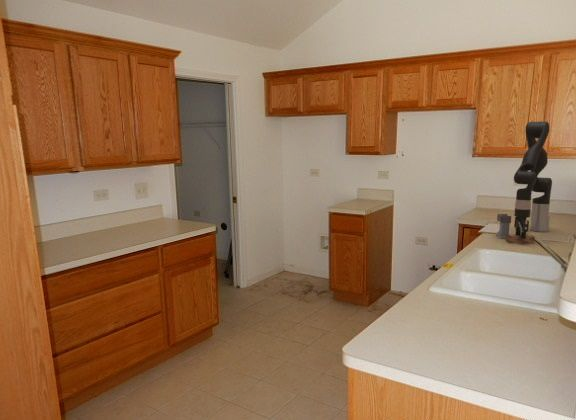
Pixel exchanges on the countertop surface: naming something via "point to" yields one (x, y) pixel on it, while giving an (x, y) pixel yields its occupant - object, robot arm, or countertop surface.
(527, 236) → the rail
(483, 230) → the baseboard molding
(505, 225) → the bracket stand
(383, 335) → the countertop surface
